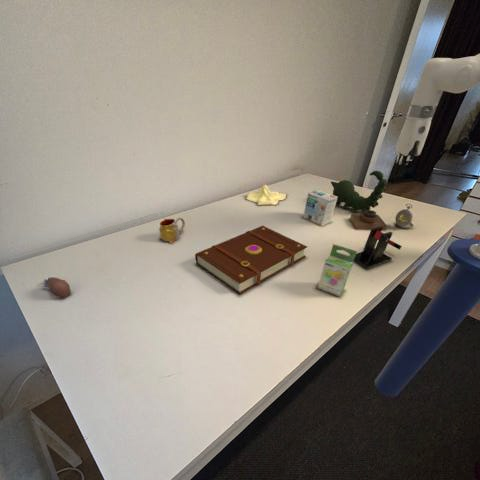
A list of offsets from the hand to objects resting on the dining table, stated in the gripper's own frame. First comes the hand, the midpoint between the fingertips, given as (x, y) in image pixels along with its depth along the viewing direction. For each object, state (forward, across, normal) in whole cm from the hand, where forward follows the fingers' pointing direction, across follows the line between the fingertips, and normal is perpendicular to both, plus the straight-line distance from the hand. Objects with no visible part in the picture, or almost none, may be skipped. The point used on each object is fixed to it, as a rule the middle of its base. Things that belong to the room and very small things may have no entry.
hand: (396, 176), depth 96 cm
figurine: (+19, -48, +110) cm, 122 cm away
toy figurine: (+20, +21, +6) cm, 30 cm away
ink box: (+21, -43, +28) cm, 55 cm away
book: (+20, -28, +52) cm, 63 cm away
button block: (+20, +4, +3) cm, 21 cm away
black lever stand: (+20, -25, +11) cm, 34 cm away
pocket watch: (+21, +4, -12) cm, 24 cm away
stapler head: (+15, -23, +7) cm, 28 cm away
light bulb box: (+20, +7, +24) cm, 32 cm away
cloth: (+19, +32, +45) cm, 59 cm away
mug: (+19, -12, +83) cm, 86 cm away
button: (+17, +4, +3) cm, 17 cm away
